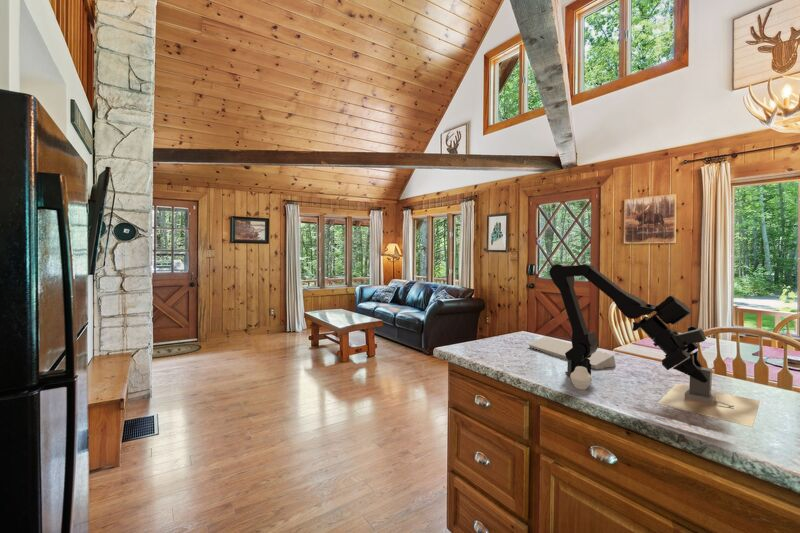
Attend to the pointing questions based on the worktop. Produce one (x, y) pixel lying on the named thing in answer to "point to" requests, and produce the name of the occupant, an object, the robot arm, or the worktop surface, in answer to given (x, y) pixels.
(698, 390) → the grey stepped block
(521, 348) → the worktop surface
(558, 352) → the decorative molding
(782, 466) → the worktop surface
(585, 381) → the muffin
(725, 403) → the birch board
